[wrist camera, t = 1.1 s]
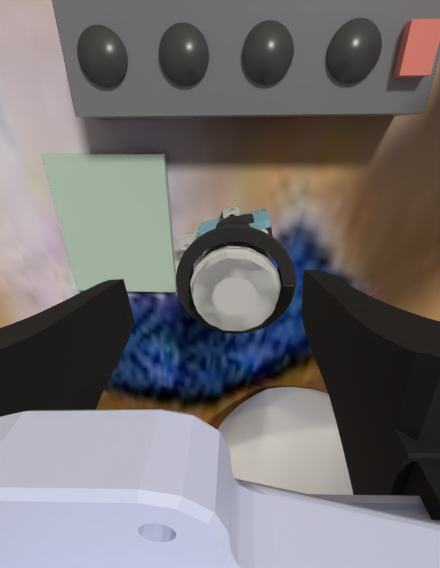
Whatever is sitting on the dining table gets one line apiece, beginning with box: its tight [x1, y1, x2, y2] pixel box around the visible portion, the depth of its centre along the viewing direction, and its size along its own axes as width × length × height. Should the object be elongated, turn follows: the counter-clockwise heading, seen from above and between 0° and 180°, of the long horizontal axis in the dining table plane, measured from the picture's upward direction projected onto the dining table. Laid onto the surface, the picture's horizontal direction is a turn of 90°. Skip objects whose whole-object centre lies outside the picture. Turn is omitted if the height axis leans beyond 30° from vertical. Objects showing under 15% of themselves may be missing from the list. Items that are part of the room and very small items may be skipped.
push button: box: [176, 206, 296, 334], centre depth 17 cm, size 7×5×10 cm
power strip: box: [52, 0, 440, 119], centre depth 15 cm, size 18×5×4 cm, turn 90°
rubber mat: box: [41, 154, 177, 292], centre depth 21 cm, size 8×10×1 cm
